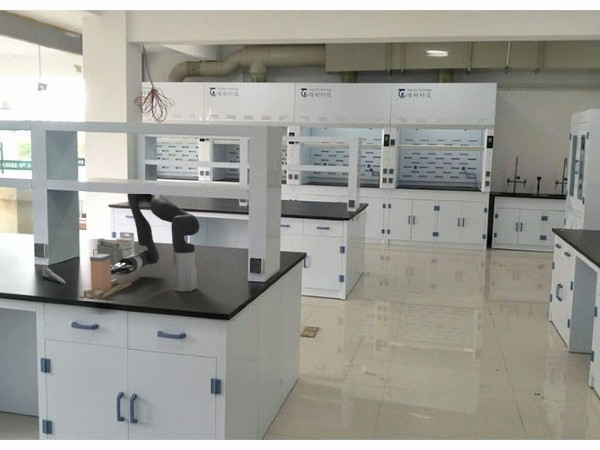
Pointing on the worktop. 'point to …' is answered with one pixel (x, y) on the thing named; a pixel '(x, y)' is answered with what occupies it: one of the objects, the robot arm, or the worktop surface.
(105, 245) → the geiger counter
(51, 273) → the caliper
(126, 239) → the ink cartridge box
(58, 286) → the worktop surface
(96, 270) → the block
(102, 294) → the chute
